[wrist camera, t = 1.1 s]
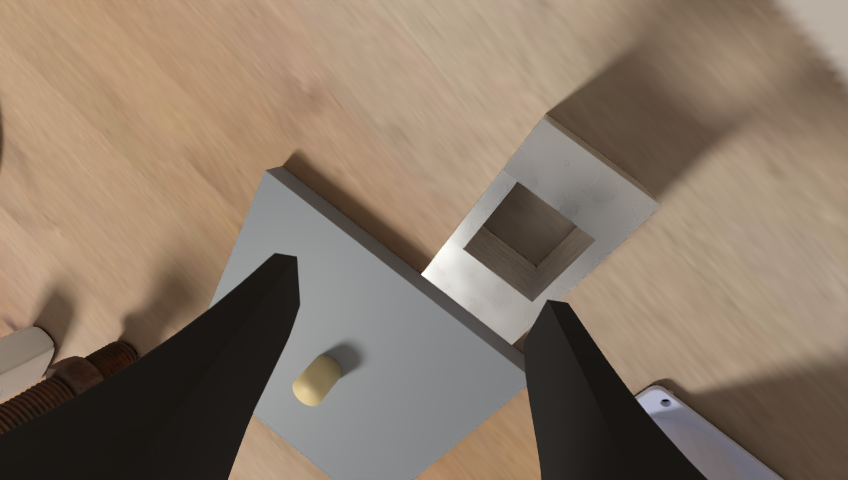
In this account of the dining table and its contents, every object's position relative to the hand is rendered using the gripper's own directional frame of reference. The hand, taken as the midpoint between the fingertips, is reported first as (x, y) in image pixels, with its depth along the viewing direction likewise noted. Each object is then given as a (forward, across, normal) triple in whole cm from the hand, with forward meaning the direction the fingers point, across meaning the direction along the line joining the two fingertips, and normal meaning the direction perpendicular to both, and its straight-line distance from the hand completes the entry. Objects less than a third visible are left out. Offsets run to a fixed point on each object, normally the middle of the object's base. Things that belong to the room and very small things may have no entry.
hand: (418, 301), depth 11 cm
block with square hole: (+9, -6, +2) cm, 11 cm away
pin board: (+9, +4, +17) cm, 19 cm away
